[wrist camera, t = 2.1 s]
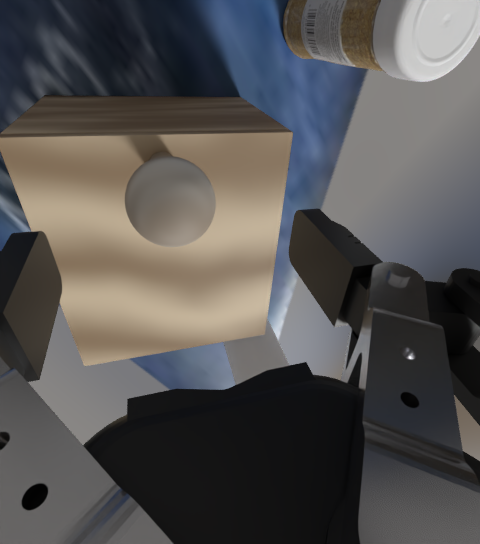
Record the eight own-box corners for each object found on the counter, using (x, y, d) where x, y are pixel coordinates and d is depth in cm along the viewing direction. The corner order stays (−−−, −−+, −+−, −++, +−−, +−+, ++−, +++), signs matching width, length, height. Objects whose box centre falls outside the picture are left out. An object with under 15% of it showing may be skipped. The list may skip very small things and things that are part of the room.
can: (258, 302, 40) (297, 385, 31) (274, 330, 44) (312, 411, 35) (212, 325, 40) (237, 415, 31) (232, 351, 44) (259, 437, 35)
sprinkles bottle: (331, 57, 26) (468, 82, 15) (278, 58, 25) (384, 85, 14) (343, -20, 23) (520, -54, 12) (283, -22, 22) (420, -61, 12)
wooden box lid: (-4, 127, 14) (-82, 188, 9) (289, 123, 18) (357, 166, 12) (85, 359, 24) (73, 454, 19) (262, 329, 27) (294, 402, 22)
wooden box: (44, 95, 22) (0, 133, 14) (240, 97, 25) (288, 129, 18) (96, 277, 32) (85, 358, 24) (233, 261, 35) (262, 328, 27)
